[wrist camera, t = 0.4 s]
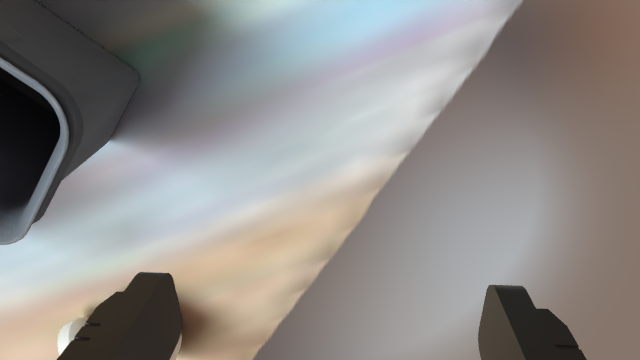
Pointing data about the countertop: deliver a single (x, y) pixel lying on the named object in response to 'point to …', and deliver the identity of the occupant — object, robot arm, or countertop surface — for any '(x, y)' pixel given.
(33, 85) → the storage bin
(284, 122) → the countertop surface
